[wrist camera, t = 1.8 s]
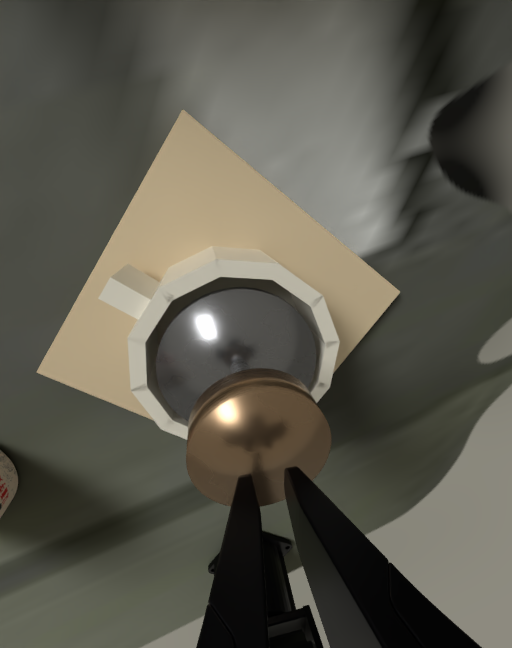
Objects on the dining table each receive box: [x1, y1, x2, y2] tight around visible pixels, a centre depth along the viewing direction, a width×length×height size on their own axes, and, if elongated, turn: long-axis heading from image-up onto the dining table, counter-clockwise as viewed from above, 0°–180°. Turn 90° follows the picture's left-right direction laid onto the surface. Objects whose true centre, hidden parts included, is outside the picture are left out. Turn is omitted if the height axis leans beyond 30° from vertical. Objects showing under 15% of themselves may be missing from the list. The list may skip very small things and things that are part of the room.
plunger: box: [156, 287, 331, 506], centre depth 13 cm, size 8×8×6 cm
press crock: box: [37, 110, 400, 440], centre depth 18 cm, size 18×18×6 cm
